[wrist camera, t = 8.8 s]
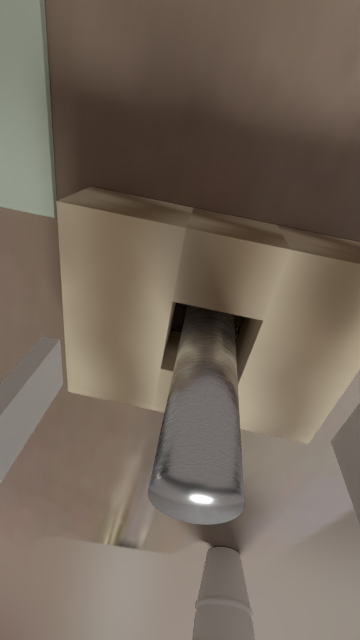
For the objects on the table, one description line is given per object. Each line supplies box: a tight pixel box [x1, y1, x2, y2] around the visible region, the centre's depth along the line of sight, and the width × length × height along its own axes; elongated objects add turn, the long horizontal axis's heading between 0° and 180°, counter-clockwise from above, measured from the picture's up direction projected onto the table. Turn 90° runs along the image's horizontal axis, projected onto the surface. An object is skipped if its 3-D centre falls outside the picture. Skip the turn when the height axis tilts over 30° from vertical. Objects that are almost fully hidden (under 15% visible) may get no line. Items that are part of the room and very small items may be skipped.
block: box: [56, 187, 360, 444], centre depth 18 cm, size 16×12×4 cm
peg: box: [148, 305, 245, 525], centre depth 14 cm, size 3×3×12 cm
